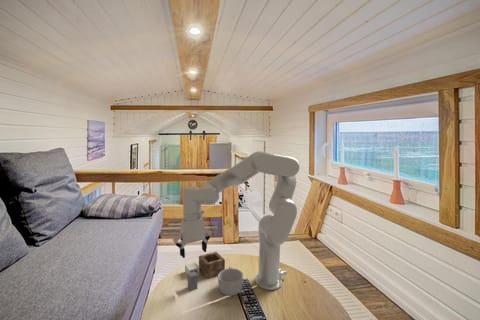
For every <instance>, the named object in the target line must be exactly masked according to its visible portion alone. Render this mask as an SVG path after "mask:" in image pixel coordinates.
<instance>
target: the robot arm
mask: <svg viewBox="0 0 480 320" xmlns="http://www.w3.org/2000/svg"><path fill="white" fill-rule="evenodd" d="M299 170H300V163H299V161H298V160H297V159H296V158H294V157H293V156H289V155H288V156H287V155H285V154H283V155H282V154H275V153H274V154H273V153H270V152H265V151H260V150H258V151H255V152H253V153H251V154H249V155H248V156H247V157H245V158H244V159H242V160H241V161H239V162H238V163H237V164H234V165H233V166H232V167H230V168H228V169H226V170H225V171H223V172H220V173H219V174H216V175H215V176H214V177H213V178H211V179H209V180H208V181H207V182H205V183H204V184H202V186H201V188H200V187H199V186H195V185H193V186H192V185H190V186H185V187H184V188H182V211H183V218H182V219H181V220H180V230H179V234H178V235H177V236H175V237H174V238H173V239H172V242H173V244H175V246H176V247H178V248H179V255H180V256H181V257H182V258H183V259H185V258H186V253H185V252H186V251H185V247H186V245H188V244H193V243H195V242H199V241H201V250H202V251H203V252H204V253H206V252H207V248H208V245H207V243H208V242H209V240H210V238H211V236H212V233H213V232H212V230H210V229H207V228H206V227H205V226H206V225H205V223H204V222H205V221H204V217H203V214H205V211H204V210H202V205H206V206H207V205H208V206H210V205H214V204H217V202H219V199H220V193H221V192H222V191H224V190H226V189H228V188H231V187H233V186H239V185H243V184H244V183H246V182H247V181H249V180H250V179H252V178H253V177H255V176H256V175H257V174H259V173H261V174H265V175H272V176H277V183H276V185H275V187H274V190H273V193H272V196H271V198H270V200H269V204H268V208H269V210H270V212H271V213H272V214H273V215H271V214H266V215H264V216H262V217H261V218H260V220H259V222H258V238H259V240H258V241H259V242H258V243H259V244H258V246H259V247H258V248H259V249H258V274H257V275H256V276H255V277H254V282H255V283H256V286H257V287H258V288H260V289H263V290H267V291H275V290H278V289H280V288H281V287H282V286H283V278H282V277H283V276H286V275H287V272H288V271H287V270H282V269H281V268H280V262H281V261H280V260H281V259H280V258H281V257H280V255H281V246H282V245H283V244H284V243H285V242H286V241H287V240H288V238H289V236H290V233H291V231H292V228H293V226H294V223H295V220H296V218H297V215H298V209H297V208H298V207H297V205H296V203H295V202H294V201H293V200H292V199H293V196H294V193H295V190H296V187H297V176H296V175H297V174H298V173H299ZM206 234H207V235H206ZM179 240H180V242H179Z"/></svg>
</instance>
